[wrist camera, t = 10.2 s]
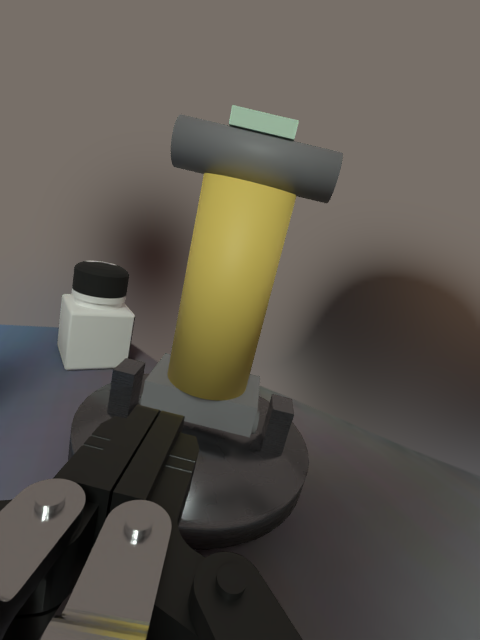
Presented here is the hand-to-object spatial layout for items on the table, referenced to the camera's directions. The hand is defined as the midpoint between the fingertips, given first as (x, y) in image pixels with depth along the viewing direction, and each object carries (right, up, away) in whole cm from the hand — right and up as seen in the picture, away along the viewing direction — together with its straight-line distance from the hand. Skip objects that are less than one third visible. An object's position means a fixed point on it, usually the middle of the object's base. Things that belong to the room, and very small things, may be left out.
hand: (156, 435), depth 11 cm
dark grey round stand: (-2, -9, +18) cm, 20 cm away
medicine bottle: (-16, -1, +34) cm, 37 cm away
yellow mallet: (0, -3, +17) cm, 17 cm away
